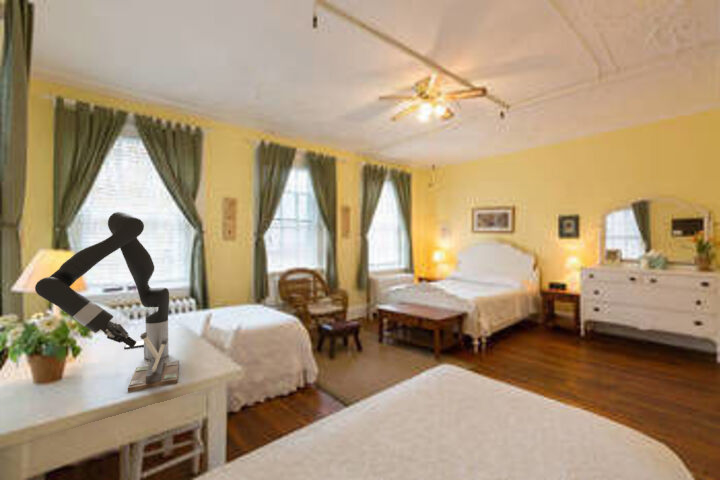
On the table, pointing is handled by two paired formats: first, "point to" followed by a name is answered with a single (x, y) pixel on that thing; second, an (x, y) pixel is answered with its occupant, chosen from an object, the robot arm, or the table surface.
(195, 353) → the table surface
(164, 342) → the lever outer
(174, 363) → the switch board
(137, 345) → the phone case
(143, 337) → the lever inner
